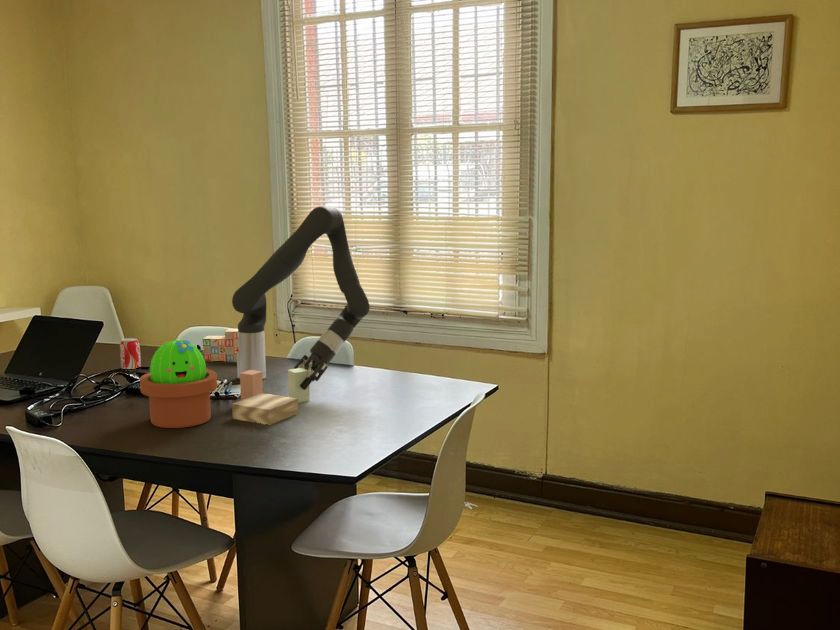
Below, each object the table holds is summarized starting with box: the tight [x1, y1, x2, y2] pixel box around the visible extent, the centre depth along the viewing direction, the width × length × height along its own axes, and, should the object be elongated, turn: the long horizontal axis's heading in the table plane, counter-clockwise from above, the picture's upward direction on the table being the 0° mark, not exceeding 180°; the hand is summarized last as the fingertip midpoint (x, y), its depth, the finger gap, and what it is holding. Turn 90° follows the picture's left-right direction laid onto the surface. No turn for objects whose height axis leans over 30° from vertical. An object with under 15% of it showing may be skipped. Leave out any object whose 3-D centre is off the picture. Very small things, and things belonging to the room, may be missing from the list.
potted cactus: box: [139, 338, 218, 429], centre depth 249 cm, size 22×22×25 cm
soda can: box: [119, 337, 142, 370], centre depth 313 cm, size 7×7×12 cm
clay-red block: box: [239, 370, 264, 401], centre depth 270 cm, size 5×5×10 cm
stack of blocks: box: [202, 328, 239, 363], centre depth 330 cm, size 21×6×12 cm, turn 85°
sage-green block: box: [287, 368, 311, 404], centre depth 272 cm, size 5×5×10 cm
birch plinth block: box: [231, 392, 299, 426], centre depth 255 cm, size 14×14×5 cm
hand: (296, 385), depth 272 cm, fingers open, 8 cm apart
